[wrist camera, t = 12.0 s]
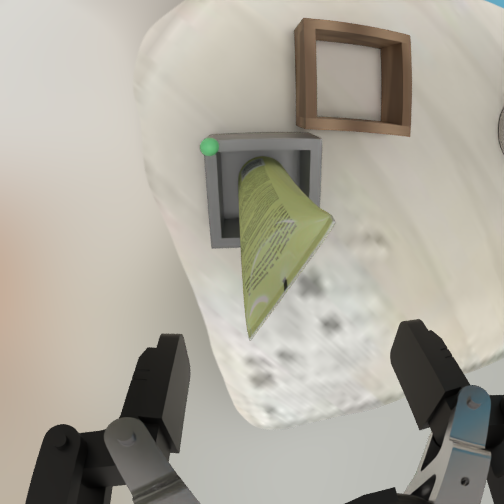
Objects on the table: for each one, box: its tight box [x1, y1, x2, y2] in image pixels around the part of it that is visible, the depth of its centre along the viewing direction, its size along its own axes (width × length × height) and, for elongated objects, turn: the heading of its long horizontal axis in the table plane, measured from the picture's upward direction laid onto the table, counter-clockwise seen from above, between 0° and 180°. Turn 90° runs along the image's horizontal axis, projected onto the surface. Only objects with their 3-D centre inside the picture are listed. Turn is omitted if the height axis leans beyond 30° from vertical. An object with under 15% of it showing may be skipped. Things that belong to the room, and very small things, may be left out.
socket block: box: [200, 132, 322, 248], centre depth 29 cm, size 10×10×7 cm
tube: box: [238, 156, 335, 341], centre depth 23 cm, size 6×5×20 cm
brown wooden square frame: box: [294, 18, 412, 137], centre depth 25 cm, size 10×10×5 cm
